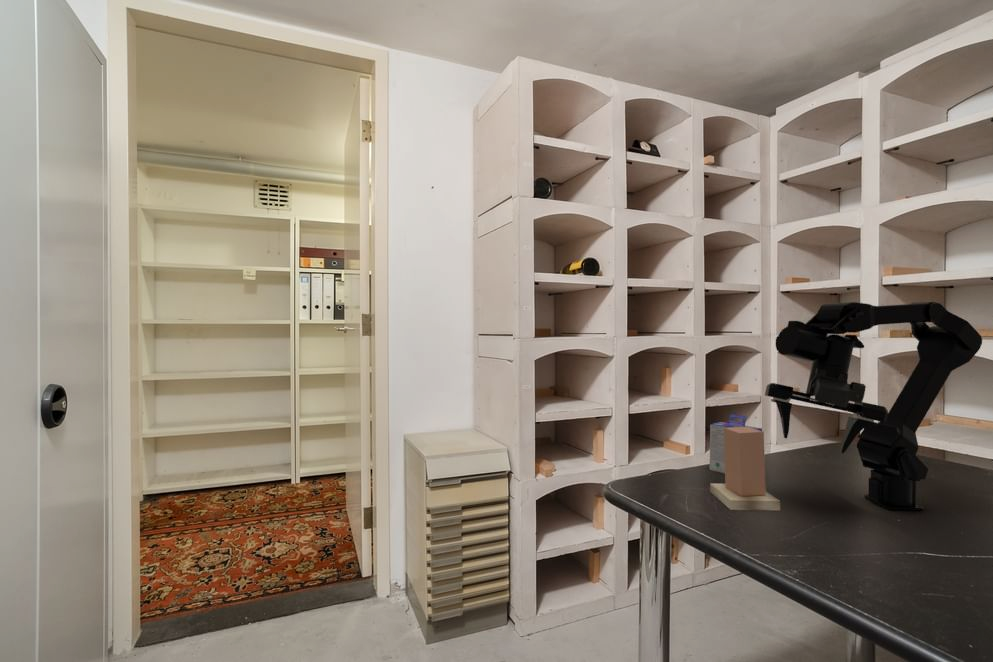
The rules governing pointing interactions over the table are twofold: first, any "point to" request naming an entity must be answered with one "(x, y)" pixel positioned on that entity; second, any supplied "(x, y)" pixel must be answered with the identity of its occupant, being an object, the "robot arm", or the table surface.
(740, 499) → the top slab
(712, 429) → the ink cartridge box
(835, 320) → the robot arm
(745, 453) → the column
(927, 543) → the table surface
